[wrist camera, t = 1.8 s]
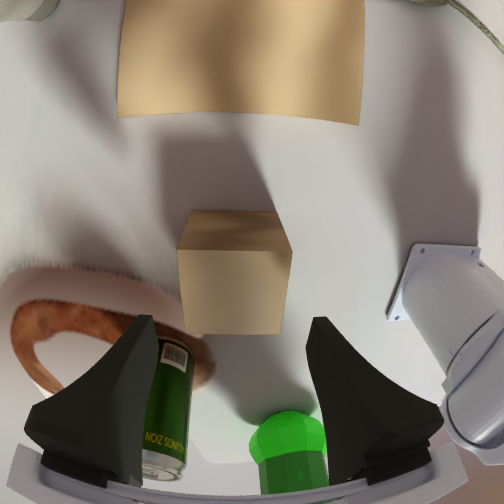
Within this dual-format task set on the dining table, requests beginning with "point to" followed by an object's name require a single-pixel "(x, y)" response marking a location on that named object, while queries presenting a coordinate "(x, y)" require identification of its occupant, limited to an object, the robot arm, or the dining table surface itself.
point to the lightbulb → (26, 9)
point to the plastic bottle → (290, 453)
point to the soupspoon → (443, 0)
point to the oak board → (243, 58)
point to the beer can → (168, 412)
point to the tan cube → (233, 272)
